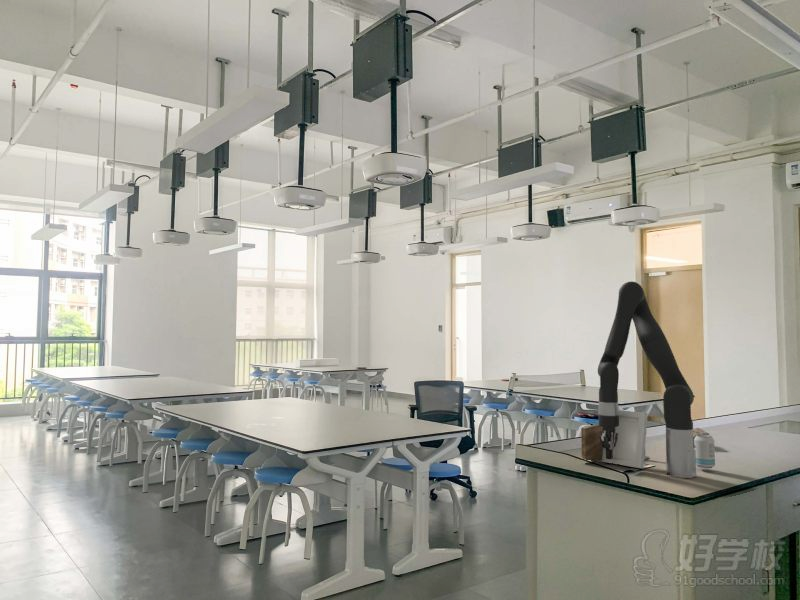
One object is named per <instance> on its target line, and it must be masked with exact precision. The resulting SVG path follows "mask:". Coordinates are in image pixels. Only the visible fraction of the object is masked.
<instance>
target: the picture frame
mask: <svg viewBox="0 0 800 600" xmlns="http://www.w3.org/2000/svg"><path fill="white" fill-rule="evenodd" d="M648 416H649V415H648V413H647V412H640V411H631V410H622V409H619V426H618V427H615V430H616V433H618V436H617V442H616V446H615V447H614V449H613V459H606V449H605V448H603V455H602V459H601V462H603V463H608V464H612V463H613V465H618V464H619V466H623V467H624V466H626V467H630V468H635V469H644V465H645V460H644V455H645V456H646V443H647V442H646V439H647V428H648Z"/></svg>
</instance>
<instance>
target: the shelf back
mask: <svg viewBox="0 0 800 600" xmlns="http://www.w3.org/2000/svg"><path fill="white" fill-rule="evenodd" d="M580 429H581V431H580V432H581V433H580V434H581V435H580V436H581V437H580V438H581V442H580V443H581V459H582V458H583V459H586V460H591V461H594V462H596V460H597V461H599V459H600V460H602V455H603V447H602V444H601V441H600V439H599V436H602V429H603V427H602V426H600V425H599V423H596V424H592V425H589V426H584V427H581V428H580Z"/></svg>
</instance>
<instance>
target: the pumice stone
mask: <svg viewBox="0 0 800 600" xmlns="http://www.w3.org/2000/svg"><path fill="white" fill-rule="evenodd" d="M697 434H705V435H710V432H706V431H705V430H704V429H701V428H700V427H693V446H694V439H695V437H696V435H697Z"/></svg>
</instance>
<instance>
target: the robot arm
mask: <svg viewBox="0 0 800 600" xmlns="http://www.w3.org/2000/svg"><path fill="white" fill-rule="evenodd" d="M632 321H633V324H634V328H635V331H636V335H637V338H638V340H639V344H640V345H641V347H642V350H643V352H644V354H645V356H646V357H647V359H648V362H649V363H650V364H651V365H652V366H653V368H654V369H655V371H656V372H657V373H658V375H659V376H660V378H661V380H662V383H663V385H664V388H665V390H664V393H663V399H662V401H663V402H662V403H663V405H662V406H663V419H664V423H665V454H666V456H665V457H666V459H665V460H666V462H665V463H666V474H667V476H670V477H674V478H681V479H693V478H695V477H696V476H697V465H696V451H695V449H694V446H693V429H694V421H693V419H692V411H691V410H692V409H691V407H692V405H693V403H694V399H695V398H694V397H695V396H694V393H693V390H692V388H691V387H690V385H689V383H688V382H687V380H686V379H685V377H684V374H682V372H681V370H680V368H679V366H678V363H677V360H676V357H675V355H674V352H673V351H672V348H671V346H670V343H669V341H668V339H667V337H666V335H665V333H664V331H663V329H662V328H661V326H660V325H659V323H658V322H657V320H656V319H655V317H654V316H653V314H652V311H651V310H650V307H649V304H648V301H647V298H646V295H645V291H644V288H643V287H642V286H641V285H640V284H639V283H638V282H636V281H627V282H625V283H624V284H622V285H621V286H620V288H619V289H618V299H617V307H616V312H615V315H614V319H613V323H612V326H611V328H610V332H609V334H608V337H607V340H606V344H605V348H604V352H603V353H602V356H601V358H600V361H599V364H598V367H597V374H598V376H599V380H600V381H599V385H600V386H599V389H598V411H597V413H598V415H597V416H598V424H599V425H600V426H602V427H603V429H602V436H599V439H600V441H601V444H602V447H603V448H605V449H606V459H613V449H614V447H615V446H616V442H617V436H618V433H616V430H615V427H618V426H619V410H620V409H619V408H620V407H619V394H618V387H619V379H620V378H619V376H620V375H619V373H620V372H619V368H618V366H619V362H620V359H621V358H622V357H623V355H624V353H625V349H626V345H627V343H628V339H629V334H630V330H631V323H632Z"/></svg>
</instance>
